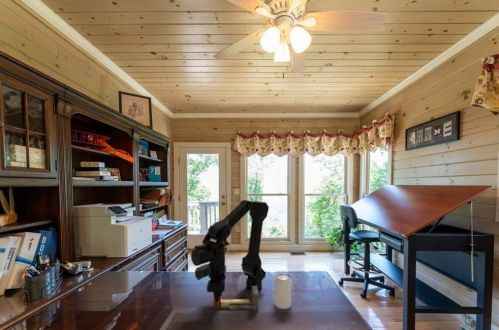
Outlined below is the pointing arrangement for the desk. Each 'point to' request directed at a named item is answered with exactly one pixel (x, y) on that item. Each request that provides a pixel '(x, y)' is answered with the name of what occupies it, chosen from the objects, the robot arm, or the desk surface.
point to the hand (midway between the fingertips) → (217, 299)
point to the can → (282, 291)
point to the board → (254, 306)
